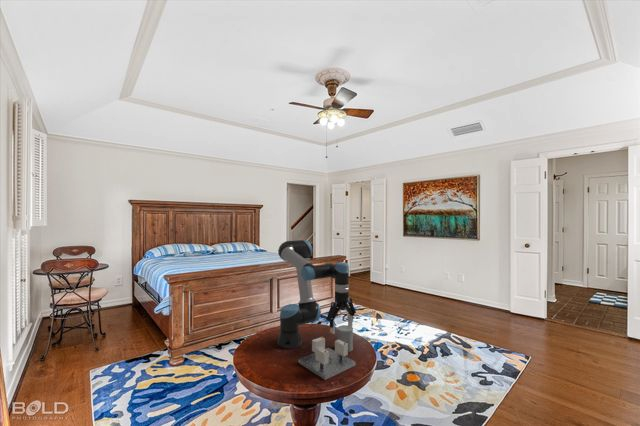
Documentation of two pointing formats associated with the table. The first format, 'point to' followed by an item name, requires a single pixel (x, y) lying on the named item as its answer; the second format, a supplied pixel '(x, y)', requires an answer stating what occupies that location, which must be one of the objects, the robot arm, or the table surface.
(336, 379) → the table surface
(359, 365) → the table surface
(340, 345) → the knob
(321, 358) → the knob
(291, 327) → the robot arm
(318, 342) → the knob back
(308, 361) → the grey flat square plate
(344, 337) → the gray cylinder
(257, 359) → the table surface
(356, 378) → the table surface
